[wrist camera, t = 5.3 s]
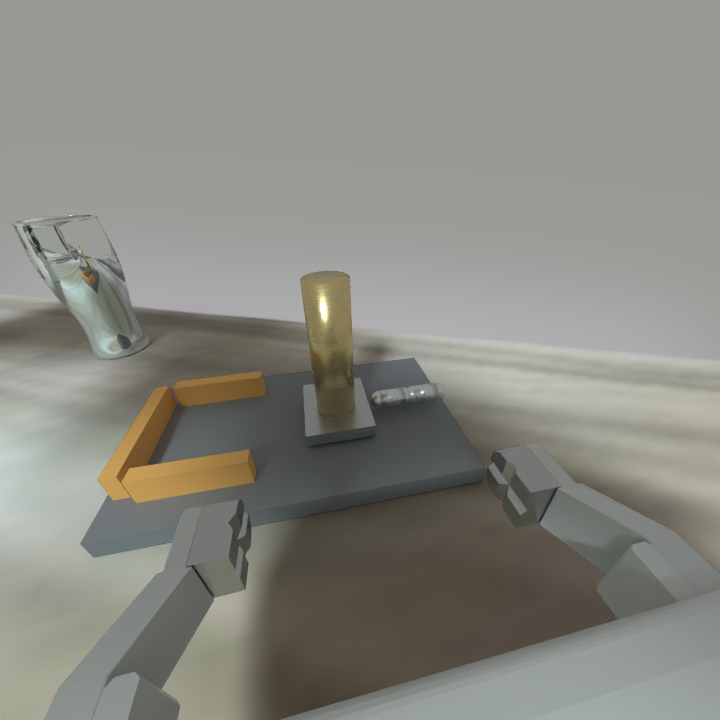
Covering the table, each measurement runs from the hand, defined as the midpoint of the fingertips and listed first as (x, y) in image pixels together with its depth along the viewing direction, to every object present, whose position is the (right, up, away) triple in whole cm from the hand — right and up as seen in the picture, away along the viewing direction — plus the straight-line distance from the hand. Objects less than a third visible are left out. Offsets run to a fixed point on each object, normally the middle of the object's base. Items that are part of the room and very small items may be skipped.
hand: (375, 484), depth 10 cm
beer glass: (-31, +5, +29) cm, 42 cm away
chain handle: (+1, 0, +15) cm, 15 cm away
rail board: (-5, -2, +15) cm, 16 cm away
